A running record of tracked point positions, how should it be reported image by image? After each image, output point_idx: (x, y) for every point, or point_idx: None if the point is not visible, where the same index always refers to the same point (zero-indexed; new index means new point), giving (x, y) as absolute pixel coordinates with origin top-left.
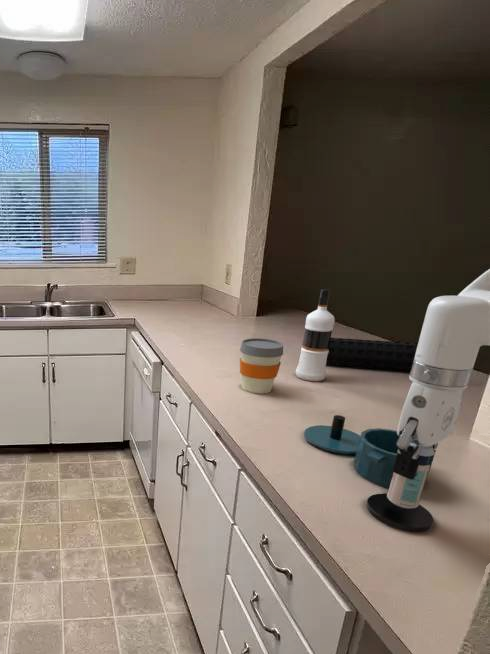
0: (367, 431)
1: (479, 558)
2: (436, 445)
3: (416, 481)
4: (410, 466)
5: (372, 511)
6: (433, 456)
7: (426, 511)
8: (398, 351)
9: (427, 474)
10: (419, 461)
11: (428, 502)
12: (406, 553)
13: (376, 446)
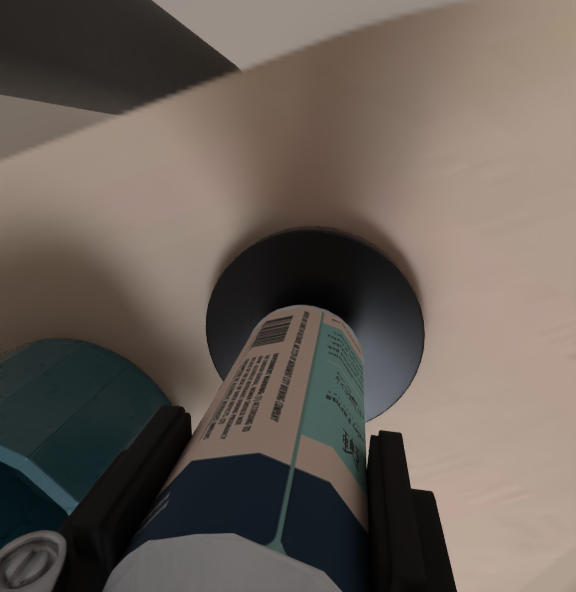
0: None
1: (358, 33)
2: (13, 564)
3: (342, 402)
4: (421, 536)
5: (402, 393)
6: (119, 479)
7: (234, 274)
8: None
9: (11, 361)
10: (396, 554)
11: (138, 291)
12: (561, 221)
13: (3, 539)
